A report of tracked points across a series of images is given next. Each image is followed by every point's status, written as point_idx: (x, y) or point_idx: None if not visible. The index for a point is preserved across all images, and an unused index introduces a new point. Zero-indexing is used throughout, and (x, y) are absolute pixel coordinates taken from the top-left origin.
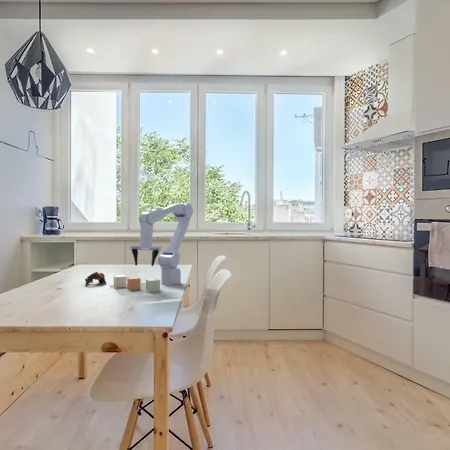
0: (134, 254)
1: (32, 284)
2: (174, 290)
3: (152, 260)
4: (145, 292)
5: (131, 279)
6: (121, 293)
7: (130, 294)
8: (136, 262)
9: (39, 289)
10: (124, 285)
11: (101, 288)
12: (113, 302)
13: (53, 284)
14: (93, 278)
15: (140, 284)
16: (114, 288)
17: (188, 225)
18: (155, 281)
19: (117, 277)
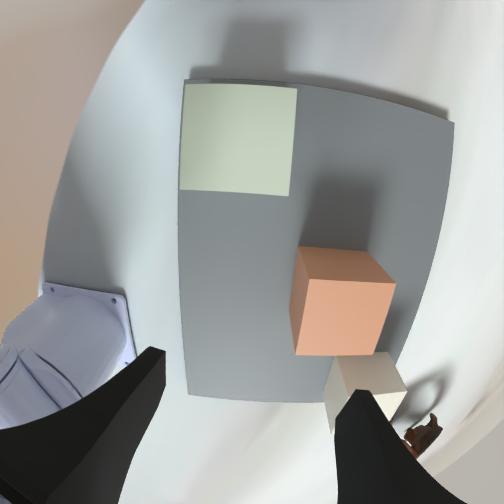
0: (443, 491)
1: (464, 452)
2: (96, 160)
3: (135, 413)
4: (314, 108)
5: (383, 281)
6: (442, 172)
7: (414, 109)
8: (376, 412)
9: (499, 404)
10: (347, 358)
11: (408, 386)
12: (485, 60)
13: (444, 452)
14: (431, 429)
15: (302, 258)
16: (405, 331)
17: None
18: (232, 85)
19: (398, 390)
